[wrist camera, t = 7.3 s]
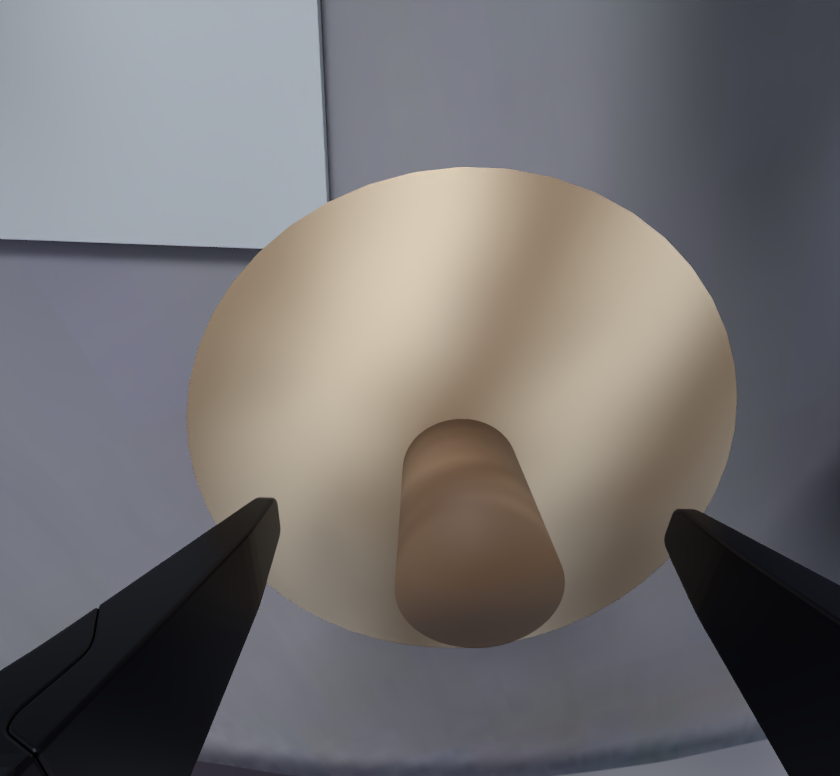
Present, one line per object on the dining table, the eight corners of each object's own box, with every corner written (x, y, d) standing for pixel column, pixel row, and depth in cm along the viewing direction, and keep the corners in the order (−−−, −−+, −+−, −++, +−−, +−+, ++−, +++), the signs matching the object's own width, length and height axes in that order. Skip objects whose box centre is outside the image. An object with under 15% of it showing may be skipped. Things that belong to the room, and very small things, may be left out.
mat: (306, -291, 11) (301, -313, 10) (332, 250, 16) (329, 251, 16) (-373, -331, 11) (-410, -357, 10) (-117, 233, 16) (-134, 233, 15)
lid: (806, 208, 10) (1173, 193, 5) (623, 633, 15) (713, 811, 11) (169, 137, 9) (-99, 45, 4) (229, 607, 15) (141, 784, 10)
